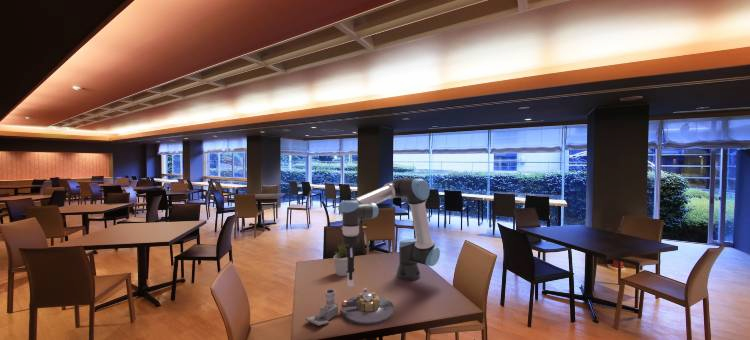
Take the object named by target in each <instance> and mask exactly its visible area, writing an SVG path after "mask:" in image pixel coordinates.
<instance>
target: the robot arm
mask: <svg viewBox="0 0 750 340" xmlns="http://www.w3.org/2000/svg"><path fill="white" fill-rule="evenodd" d="M430 190H431V189H430V185H429V184H428V182H427V181H426V180H424V179H422V178H405V177H401V178H397V179H394V180H392V181H389V182H387V183H385V184H384V185H383V186H382V187H379V188H377V189H375V190H372V191H370V192H368V193H365V194H363V195H360V196H358V197H356V198H352V199H349V200H342V201H341V202H339V204H338V208H337V209H338V212H339V214H340V215H342V227H341V229H340V230H342V239H341V240H342V241H341V243H342V245H346V247H345V248H346V249H345V250H346V251H347V252H346V253H347V262H348V266H347V268H348V269H347V270H348V271H346V273H348V275H347V279H346V280H347V287H354V279H355V278H354V275H355V274H354V272H355V270H356V269H355V253H356V247H355V245H357V244H359V243H360V237H359V236H360V235H359V234H360V221H364V220H371V219H374V218H377V217H378V215H379V207H378V204H380V203H382V202H385V201H386V200H393V199H394V198H395V199H396V198H403V199H405V200H406V203H407V205H409V207H410V211H411V216H412V223H413V227H414V233H415V238H406V239H402V240H400V242H399V245H398V246H399V252H398V255H399V262H398V267H397V270H396V277H397V278H398V279H400V280H405V281H415V280H418V279H420V278H421V271H420V267H419V265H418V264H421V265H425V266H429V267H434V266H435V265H437V263H438V261H439V259H440V256H441V250H440V248H439V247H437V246H435V242H434V240H433V239H432V237H431V231H430V226H429V220H428V216H427V215H428V214H427V208H426V202H427V201H428V198H429V197H430V193H431V192H430Z"/></svg>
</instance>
